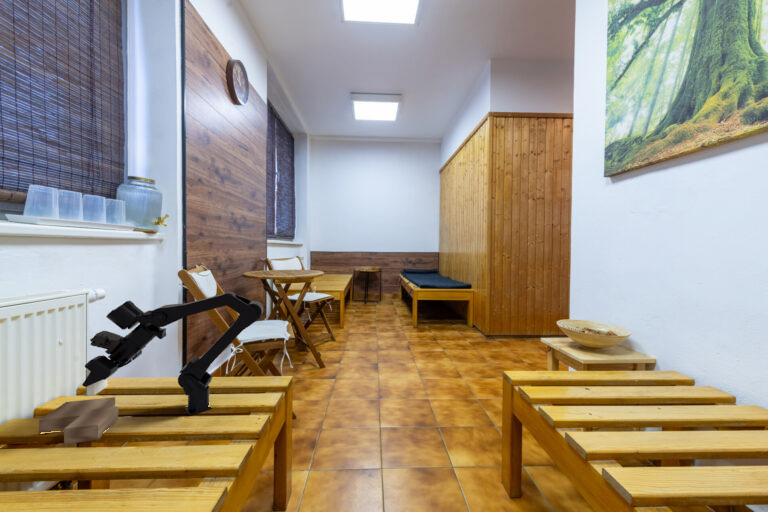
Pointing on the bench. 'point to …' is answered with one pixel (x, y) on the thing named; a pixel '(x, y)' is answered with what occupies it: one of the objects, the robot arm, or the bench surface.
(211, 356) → the robot arm
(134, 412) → the bench surface
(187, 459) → the bench surface
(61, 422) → the platform
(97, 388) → the tile
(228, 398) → the bench surface
